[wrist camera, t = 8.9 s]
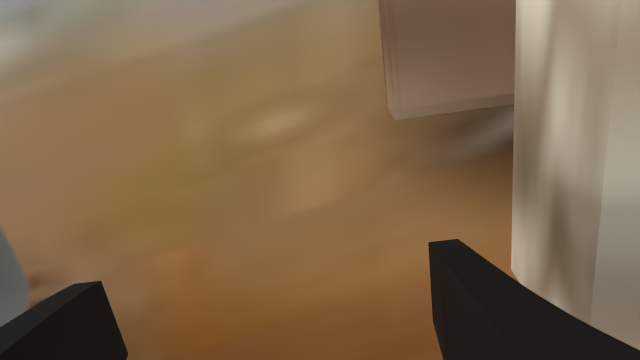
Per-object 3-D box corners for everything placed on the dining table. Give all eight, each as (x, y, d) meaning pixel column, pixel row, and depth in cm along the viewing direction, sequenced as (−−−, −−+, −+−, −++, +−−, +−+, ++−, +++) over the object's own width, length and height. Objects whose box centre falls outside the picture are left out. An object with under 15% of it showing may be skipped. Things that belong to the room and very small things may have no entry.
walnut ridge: (642, 73, 18) (727, 93, 14) (387, 107, 18) (403, 135, 15) (660, -70, 16) (762, -91, 12) (375, -27, 17) (391, -35, 13)
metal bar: (596, 260, 16) (704, 364, 12) (511, 269, 17) (584, 376, 12) (653, -336, 10) (917, -601, 6) (521, -312, 11) (675, -551, 6)
